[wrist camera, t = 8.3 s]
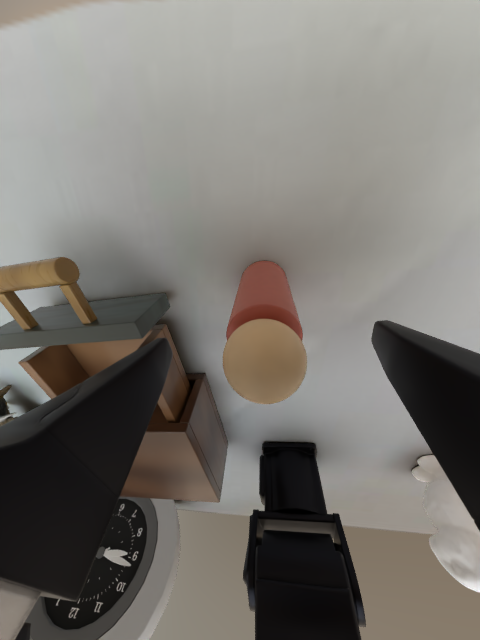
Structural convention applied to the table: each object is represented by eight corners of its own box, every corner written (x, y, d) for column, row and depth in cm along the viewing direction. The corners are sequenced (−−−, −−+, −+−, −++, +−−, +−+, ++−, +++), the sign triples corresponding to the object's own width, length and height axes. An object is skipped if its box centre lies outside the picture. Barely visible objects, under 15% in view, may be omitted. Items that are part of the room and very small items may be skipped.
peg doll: (285, 257, 14) (321, 348, 5) (287, 301, 16) (317, 424, 7) (237, 263, 15) (200, 355, 6) (244, 306, 16) (222, 424, 8)
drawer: (7, 260, 15) (-77, 280, 11) (145, 237, 13) (100, 252, 10) (105, 398, 23) (74, 437, 19) (203, 396, 21) (189, 438, 17)
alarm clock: (191, 490, 35) (125, 758, 18) (192, 507, 39) (138, 741, 22) (73, 471, 36) (-95, 712, 19) (85, 489, 40) (-46, 703, 23)
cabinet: (96, 377, 22) (46, 431, 17) (205, 373, 20) (185, 432, 15) (141, 442, 29) (113, 496, 23) (228, 443, 27) (219, 502, 21)
